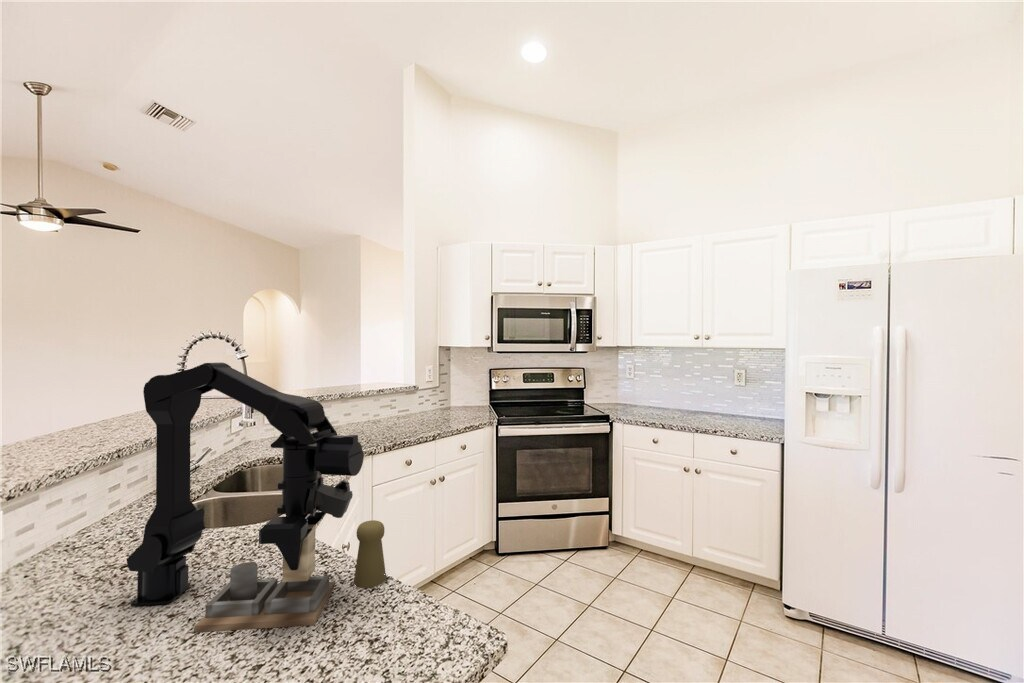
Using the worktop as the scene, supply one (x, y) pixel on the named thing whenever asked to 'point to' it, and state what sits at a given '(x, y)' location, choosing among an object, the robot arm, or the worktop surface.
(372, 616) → the worktop surface
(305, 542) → the maple pin
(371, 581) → the olive green peg figure
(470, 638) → the worktop surface
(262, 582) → the board
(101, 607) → the worktop surface
